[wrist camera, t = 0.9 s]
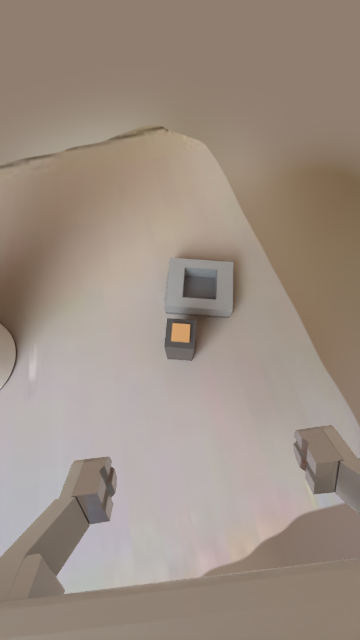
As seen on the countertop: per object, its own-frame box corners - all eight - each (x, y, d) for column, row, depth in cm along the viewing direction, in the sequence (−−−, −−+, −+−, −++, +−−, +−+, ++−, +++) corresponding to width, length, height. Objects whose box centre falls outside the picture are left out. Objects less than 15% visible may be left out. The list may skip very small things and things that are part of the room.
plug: (167, 358, 43) (164, 345, 34) (169, 335, 44) (167, 317, 35) (191, 360, 43) (194, 348, 34) (193, 337, 44) (196, 319, 35)
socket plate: (166, 313, 45) (165, 305, 42) (170, 267, 48) (169, 257, 45) (228, 317, 45) (232, 310, 42) (229, 271, 48) (233, 261, 45)
